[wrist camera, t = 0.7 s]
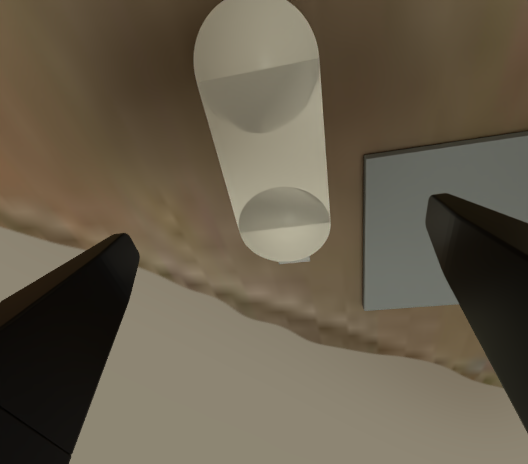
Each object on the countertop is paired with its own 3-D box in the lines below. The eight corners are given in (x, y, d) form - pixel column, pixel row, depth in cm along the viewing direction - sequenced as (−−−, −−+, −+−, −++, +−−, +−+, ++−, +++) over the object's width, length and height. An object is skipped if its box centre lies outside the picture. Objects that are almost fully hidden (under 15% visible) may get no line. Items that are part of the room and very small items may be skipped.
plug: (303, -14, 14) (313, -25, 9) (324, 227, 22) (335, 288, 17) (211, 7, 15) (175, 8, 10) (263, 234, 23) (257, 295, 18)
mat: (629, 116, 17) (640, 119, 16) (541, 292, 25) (546, 297, 24) (363, 155, 19) (366, 159, 18) (362, 305, 27) (364, 310, 26)
